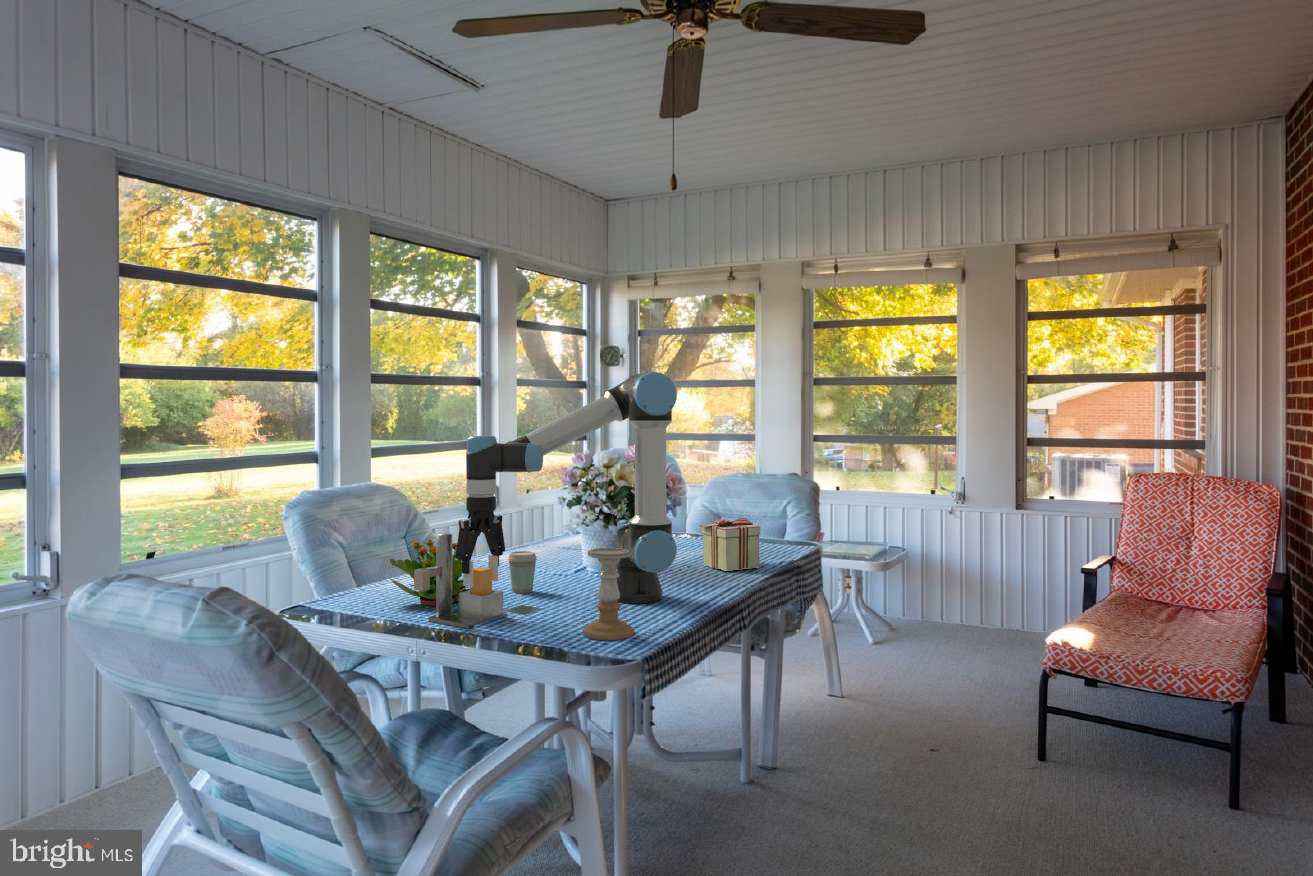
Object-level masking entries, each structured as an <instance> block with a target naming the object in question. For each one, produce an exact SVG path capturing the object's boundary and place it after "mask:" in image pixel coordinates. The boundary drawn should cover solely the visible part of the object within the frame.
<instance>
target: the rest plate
mask: <svg viewBox="0 0 1313 876" xmlns="http://www.w3.org/2000/svg"><path fill="white" fill-rule="evenodd" d="M543 610H544V608H543V607H536V606H529V605H523V604H521V605H518V606H514V607H511V608H507V609H503V612H506V613H512V614H513V613H514V614H518V615H523V616H526V615H529V614H533V613H536V612H539V611H543Z"/></svg>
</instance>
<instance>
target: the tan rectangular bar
mask: <svg viewBox="0 0 1313 876" xmlns="http://www.w3.org/2000/svg"><path fill="white" fill-rule="evenodd" d="M469 589H470V594H476V595H485V594H489V593H492V590H493V581H492V568H488V567H483V566H479V567H475V568H474V567H473V587H469Z"/></svg>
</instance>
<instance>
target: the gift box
mask: <svg viewBox="0 0 1313 876" xmlns="http://www.w3.org/2000/svg"><path fill="white" fill-rule="evenodd" d="M699 527H700V528H701V530H702V531H701V534H702V535H703V536H702V537H703V538H702V539H703V540H702V541H703V547H702V548H703V555H702V556H703V566H704V565H707V566H710V567H712V568H718V569H721V570H724V571H731V570H736V569H742V568H753V567H759V566H760V536H761V526H760V525H754V524H753V523H752V521H750V520H749V519H747V518H746V517H739V518H736V519H734V520H732V521H731V520H729V519H724V518H723V519H722V518H721V519H720V518H719V519H714V520H713V521H712V524H711V523H710V524H702V525H699ZM712 568H711V569H712ZM759 568H760V567H759ZM724 571H723V572H724ZM731 572H732V571H731Z"/></svg>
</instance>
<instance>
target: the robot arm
mask: <svg viewBox="0 0 1313 876" xmlns="http://www.w3.org/2000/svg"><path fill="white" fill-rule="evenodd" d="M677 398H678V393H677V387H676V385H675V383H674V381H673V380H672V379H671V378H670V377H669V376H668V375H666V374H664V373H662V372H658V371H645V372H643V373H637V374H634V375H632V376H630V377H628V378H627V379H625V380H624V381H622V382H621V383H619V384H617V385H615V386H614V387H612V388H610V389H608V390H607V391H605V392H604V395H603V396H602V397H600V398H598V399H595V400H593V401H591V402H589V403H588V404H585V405H583V406H581V407H579V408H577V409H575V410H573V411H571V412H569V413H567V414H565V415H562V416H561V417H559V418H556V419H555V420H552V421H551V422H548V423H547V424H544V425H543V426H540V427H539V428H537V429H535V430H533V431H530V432H528V433H526V434H524V435H523V436H520V437H518V438H516V439H514V440H510V441H507V442H505V443H500V442H497V437H496V436H495V435H470V436H469V437H468V438H467V439H466V451H465V452H466V453H465V457H466V459H465V460H466V461H465V464H466V471H465V472H466V473H465V474H466V475H465V476H466V483H465V484H466V487H465V488H466V493H465V494H466V495H468V496H466V499H465V502H466V504H465V507H466V508H465V509H466V511H467V512H468V515H467V518H466V519H459V520H458V528H459V529H458V530H459V531H458V535H457V542H456V543H457V549H456V556H455V557H456V558H455V559H456V560H457V559H459V560H461V562H462V576H463V579H462V580H463V586H467V587H469V588H470V587H473V569H474V560H472V556H473V554H474V551H475V547H476V545H477V541H478V538H479V536H480V535H481V534H482V533H483V535H484V538H485V541H486V544H487V546H488V549H489V553H490V554H489V555H488V556H487V557H488V564H487V568H492V582H498V581H499V567H500V557H502V556H503V554H504V552H506V544H505V537H504V530H503V515H501V514H495V513H494V511H496V509H497V497H496V496H495V495H496V494H497V473H529V474H530V473H534V472H535V473H536V472H541V470H542V469H543V464H544V456H545V455H548V454H550V453H552V452H555V451H556V450H558V449H560V448H562V447H565V446H566V445H569V444H570V443H573V442H575V441H576V440H579V439H581V438H582V437H585V436H587V435H589V434H592V433H593V432H595V431H597V430H599V429H601V428H604V427H605V426H607V425H609V424H611V423H613V422H615V421H617V422H620V423H621V422H623V421H625V420H627V419H629V423H630V424H631V425H632V426H633V429H634V516H633V517H632V518H631V519H620V520H618V522H617V524H616V530H615V532H616V548H621V549H627V550H629V551H630V552H631V554H630V556H628V557H626V558H621V559H620V561H619V563H618V564H617V565H616V571H617V572H618V573H619V577H618V578H617V585H618V589H619V592H620V597H619V599H618V600H617V601H618V602H619V603H624V604H650V603H655V602H659V601H661V600H663V588H662V585H661V581H660V578H659V574H658V573H661V572H663V571H665V570H667V569H668V568H669V567H670V566H672V564H673V563H674V561H675V559H676V557H677V552H678V548H677V547H678V546H677V543H676V541H675V539H674V537H673V533H672V530H673V522H672V520H671V519H670V518H669V517H668V515H667V427H668V426H669V425H670V424H671V423H672V422H673V421H672V420H673V419H672V418H673V416H672V415H673V412H672V410H673V408H674V407H675V404H676V403H677Z"/></svg>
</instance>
